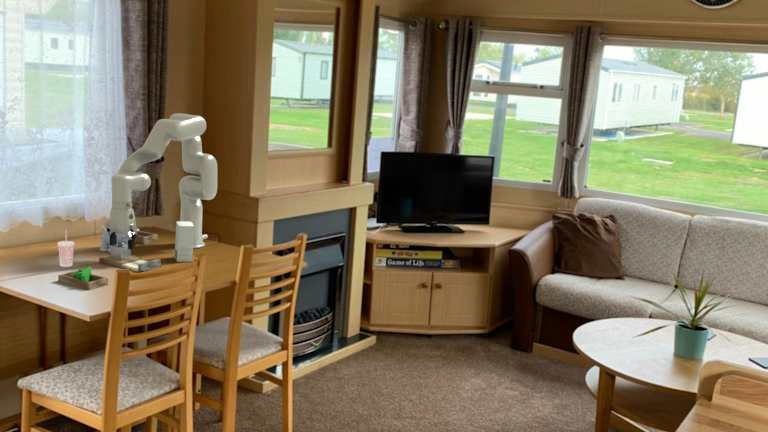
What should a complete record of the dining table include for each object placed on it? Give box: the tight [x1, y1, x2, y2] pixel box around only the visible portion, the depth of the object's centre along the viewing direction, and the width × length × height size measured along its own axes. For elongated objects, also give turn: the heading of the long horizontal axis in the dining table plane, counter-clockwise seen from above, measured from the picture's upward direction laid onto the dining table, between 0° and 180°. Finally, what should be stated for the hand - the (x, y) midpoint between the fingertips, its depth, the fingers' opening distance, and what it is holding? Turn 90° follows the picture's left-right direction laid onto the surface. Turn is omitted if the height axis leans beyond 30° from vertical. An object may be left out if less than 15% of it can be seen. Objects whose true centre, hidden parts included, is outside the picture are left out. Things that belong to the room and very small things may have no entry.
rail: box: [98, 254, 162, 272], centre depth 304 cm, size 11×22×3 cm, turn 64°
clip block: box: [110, 242, 132, 260], centre depth 306 cm, size 6×6×6 cm
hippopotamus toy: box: [99, 225, 129, 253], centre depth 325 cm, size 11×15×10 cm
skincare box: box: [173, 220, 194, 263], centre depth 317 cm, size 8×7×16 cm
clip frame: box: [130, 230, 159, 245], centre depth 346 cm, size 8×16×3 cm, turn 64°
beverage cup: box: [57, 229, 76, 268], centre depth 296 cm, size 6×6×14 cm
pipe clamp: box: [75, 266, 92, 285], centre depth 275 cm, size 11×4×5 cm, turn 10°
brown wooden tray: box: [57, 269, 109, 291], centre depth 276 cm, size 8×16×2 cm, turn 64°
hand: (122, 246), depth 306 cm, fingers open, 9 cm apart
